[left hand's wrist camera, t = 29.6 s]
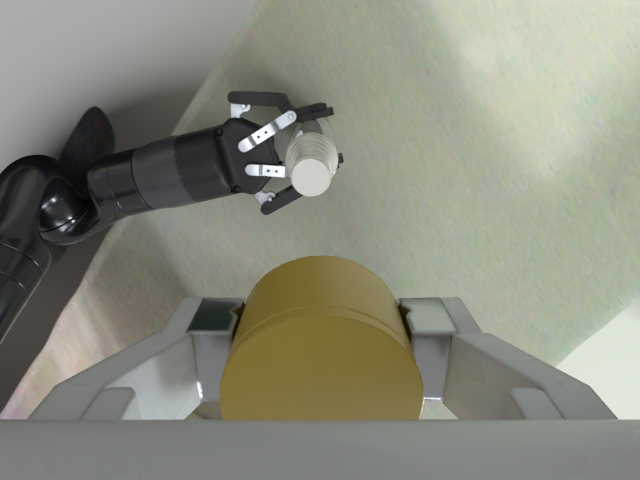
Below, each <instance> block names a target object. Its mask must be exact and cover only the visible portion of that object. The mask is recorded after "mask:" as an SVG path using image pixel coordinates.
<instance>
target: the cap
mask: <svg viewBox="0 0 640 480" xmlns="http://www.w3.org/2000/svg"><path fill="white" fill-rule="evenodd" d="M423 401H424V389H423V381H422V378H421V374H420V371H419V368H418V365H417V362H416V359H415V356H414V353H413V350H412V347H411V344H410V341H409V338H408V335H407V332H406V329H405V326H404V323H403V320H402V317H401V314H400V311H399V308H398V305H397V302H396V300H395V298H394V296H393V294H392V292H391V291H390V289H389V288H388V286H387V285H386V284H385V283H384V282H383V281H382V279H380V278H379V277H378V276H377V275H376V274H375V273H373V272H372V271H370V270H369V269H367V268H366V267H364V266H362V265H360V264H358V263H356V262H353V261H350V260H347V259H343V258H340V257H333V256H309V257H303V258H299V259H296V260H292V261H289V262H287V263H285V264H282V265H280V266H278V267H277V268H275V269H273V270H272V271H270V272H269V273H268V274H266V275H265V276H264V277H263V278H262V279H261V280H260V281H259V282H258V283H257V284H256V285H255V287H254V288H253V290H252V291H251V293H250V295H249V296H248V298H247V300H246V303H245V306H244V309H243V312H242V315H241V318H240V321H239V324H238V328H237V331H236V334H235V337H234V340H233V343H232V346H231V349H230V352H229V355H228V358H227V361H226V364H225V368H224V371H223V374H222V377H221V381H220V387H219V403H220V409H221V413H222V416H223V419H224V420H419V418H420V416H421V411H422V407H423Z"/></svg>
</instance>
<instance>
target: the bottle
mask: <svg viewBox="0 0 640 480" xmlns="http://www.w3.org/2000/svg"><path fill="white" fill-rule="evenodd" d="M285 164H286V169H287V171H288V173H289V175H290V180H291V183H292V185H293V187H294V188H295V190H296V191H297V192H299V193H300V194H302V195H304V196H310V197H311V196H317V195H319V194H322V193H323V192H324V191H325V190H326V189H327V188H328V187H329V184H330V182H331V178H332V177H333V175H334V174H335V172H336V169H337V166H338V153H337V149H336V145H335V141H334V138H333V134H332V130H331V126H330V124H329V123H328V121H327V120H326V119H325V118H324V117H322V118H318V119H314V120H309V121H306V122H302V123H299V122H298V124H297V126H296V128H295V131H294V133H293V136H292V138H291V140H290V143H289V145H288V148H287V150H286V154H285Z"/></svg>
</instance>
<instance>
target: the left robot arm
mask: <svg viewBox="0 0 640 480" xmlns="http://www.w3.org/2000/svg"><path fill="white" fill-rule="evenodd" d="M245 303H246V299H245V298H213V297H206V298H204V297H185V298H182V299H181V301H180V303H179V304H178V306H177V308H176V309H175V311H174V312H173V314H172V316H171V317H170V319H169V320H168V322H167V324H166V325H165V327H164V328H163V330H162V332H161V333H154V334H152V335H150V336H148V337H146V338H144V339H142V340H141V341H139V342H137V343H135V344H133V345H131V346H129V347H127V348H125V349H124V350H122V351H120V352H118V353H116V354H114V355H112V356H110V357H108V358H107V359H105V360H103V361H101V362H99V363H97V364H95V365H93V366H91V367H89V368H88V369H86V370H84V371H82V372H80V373H78V374H76V375H74V376H72V377H71V378H69V379H67V380H65V381H63V382H61V383H59V384H57V385H56V386H55V387H54V388H53V389H52V390H51V391H50V393H49V394H48V395H47V396H46V397H45V398H44V400H43V401H42V402H41V403H40V404H39V405H38V407H37V408H36V409H35V410H34V411H33V412H32V414H31V415H30V416H29V417H28V418H27V419H26V420H0V480H640V420H619V419H618V418H617V417H616V416H615V415H614V414H613V412H612V411H611V410H610V409H609V408H608V407H607V405H606V404H605V403H604V402H603V401H602V400H601V399H600V397H599V396H598V395H597V394H596V393H595V392H594V390H593V389H592V388H591V387H590V386H589V385H587V384H585V383H583V382H581V381H579V380H577V379H575V378H573V377H572V376H570V375H568V374H566V373H564V372H562V371H560V370H558V369H556V368H554V367H553V366H551V365H549V364H547V363H545V362H543V361H541V360H539V359H537V358H535V357H534V356H532V355H530V354H528V353H526V352H524V351H522V350H520V349H518V348H516V347H515V346H513V345H511V344H509V343H507V342H505V341H503V340H501V339H499V338H497V337H496V336H494V335H492V334H490V333H483V332H482V331H481V329H480V328H479V326H478V325H477V323H476V321H475V320H474V318H473V317H472V315H471V314H470V312H469V311H468V309H467V307H466V306H465V304H464V303H463V301H462V300H461V298H459V297H442V298H439V297H435V298H399V299H397V305H398V308H399V311H400V314H401V317H402V320H403V323H404V326H405V329H406V332H407V335H408V338H409V341H410V344H411V347H412V350H413V353H414V356H415V359H416V362H417V365H418V368H419V371H420V374H421V378H422V381H423V389H424V401H443V404H444V405H445V406H446V407H447V408H448V409H449V410H450V411H452V412H453V413H454V414H455V415H456V416H457V417H458V418H459V419H460V420H184V419H185V418H186V417H187V416H188V415H189V414H190V413H191V412H192V411H193V410H194V409H195V408H196V407H197V406H198V405H199V404H201V402H200V401H219V387H220V381H221V377H222V374H223V371H224V368H225V364H226V361H227V358H228V355H229V352H230V349H231V346H232V343H233V340H234V337H235V334H236V331H237V328H238V324H239V321H240V318H241V315H242V312H243V309H244V306H245Z"/></svg>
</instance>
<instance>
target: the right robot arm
mask: <svg viewBox="0 0 640 480" xmlns="http://www.w3.org/2000/svg"><path fill="white" fill-rule="evenodd" d="M228 100H229V102H230V107H231V118H230V119H228V120H227V121H226V122H225V123H224V124H222V125H219V126H215V127H211V128H207V129H203V130H199V131H195V132H191V133H187V134H183V135H178V136H170V137H168V138H166V139H162V140H158V141H155V142H152V143H150V144H147V145H145V146H142V147H139V148H135V149H131V150H127V151H123V152H119V153H115V154H111V155H107V156H103V157H100V158H97V159H95V160H94V161H92V162H91V163H90V164H89V166H88V168H87V171H86V185H87V189H88V192H89V195H90V197H89V196H87V195H86V193H85V192H84V191H83V190H82V188H81V187H80V186H79V185H78V183H77V182H76V181H75V180H74V178H73V177H72V176H71V175H70V173H69V172H68V171H67V170H66V168H65V167H64V166H63V165H62V164H61V163H60V162H58V161H57V160H56V159H54V158H52V157H49V156H45V155H31V156H26V157H23V158H20V159H18V160H16V161H14V162H13V163H11V164H10V165H9V166H7V167H6V168H5V169H4V170H3V171H2V173H1V174H0V344H1V342H2V341H3V339H4V338H5V336H6V334H7V333H8V331H9V330H10V328H11V326H12V325H13V323H14V322H15V320H16V318H17V317H18V315H19V314H20V312H21V311H22V309H23V308H24V306H25V305H26V303H27V301H28V300H29V299H30V297H31V295H32V294H33V292H34V291H35V289H36V288H37V286H38V285H39V283H40V281H41V280H42V278H43V277H44V275H45V273H46V272H47V270H48V268H49V266H50V264H51V252H50V250H49V248H48V246H47V244H46V243H48V244H52V245H59V246H66V245H72V244H75V243H78V242H80V241H82V240H84V239H85V238H87V237H89V236H90V235H92V234H94V233H95V232H97V231H99V230H101V229H103V228H105V227H107V226H109V225H111V224H113V223H115V222H117V221H118V220H120V219H122V218H125V217H127V216H131V215H135V214H140V213H144V212H149V211H153V210H157V209H163V208H174V207H180V206H185V205H189V204H194V203H198V202H202V201H207V200H211V199H215V198H220V197H224V196H228V195H233V194H237V193H248V194H254V196H255V197H256V199H257V200H258V202H259V203H260V205H261V212H262V213H263V214H264V215H268V214H270V213H272V212H274V211H276V210H277V209H279V208H281V207H283V206H285V205H287V204H288V203H290V202H292V201H294V200H296V199H298V198H299V197H301V196H303V195H302V194H300V193H299V192H297V191H296V190H295V188H294V187H293V185H291V186H289V187H287V188H285V189H283V190H282V191H280V192H278V193H275V192H274V191H272V190H271V191H263V190H262V188H263V187H264V186H265V185H266V183H267V182H268V181H269V180H270V179H271V177H283V178H287V177H290V175H289V173H288V171H287V169H286V164H285V160H279V156H278V154H277V152H276V150H275V148H274V138H273V135H274V134H276V133H277V132H279V131H280V130H281V129H283V128H285V127H286V126H288V125H289V124H291V123H293V122H297V121H299V123H302V122H306V121H309V120H314V119H318V118H322V117H327V116H331V115H334V112H333V107H328V108H327V107H326V103H316V104H312V105H308V106H304V107H300V108H296V107H294V106H292V104H291V103H290V101H289V100H288V97H287V95H286V94H284V93H270V92H252V91H232V92H230V93H229V94H228ZM252 105H262V106H278V108H279V109H280V111H281V112H282V114H281V115H280V116H278V117H277V118H275V119H273V120H272V121H270V122H268V123H267V124H265V125H264V126H260V125H258V124H255V123H253V122H251V121H248V120H246V119H243V118H241V114H242V113H243V112H247V111H249V110H250V109H251V106H252ZM343 162H344V160H343V156H342V153H338V166H337V169H338V168H339V163H343ZM276 171H277V172H276Z"/></svg>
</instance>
